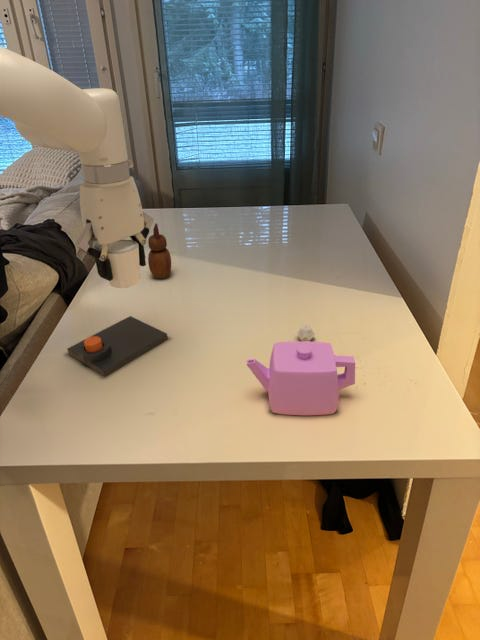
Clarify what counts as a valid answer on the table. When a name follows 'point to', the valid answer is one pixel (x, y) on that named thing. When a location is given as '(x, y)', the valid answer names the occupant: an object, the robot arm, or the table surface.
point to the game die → (305, 333)
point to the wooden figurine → (159, 255)
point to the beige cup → (124, 263)
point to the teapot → (304, 377)
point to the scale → (119, 345)
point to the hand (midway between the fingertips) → (123, 270)
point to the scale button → (93, 344)
